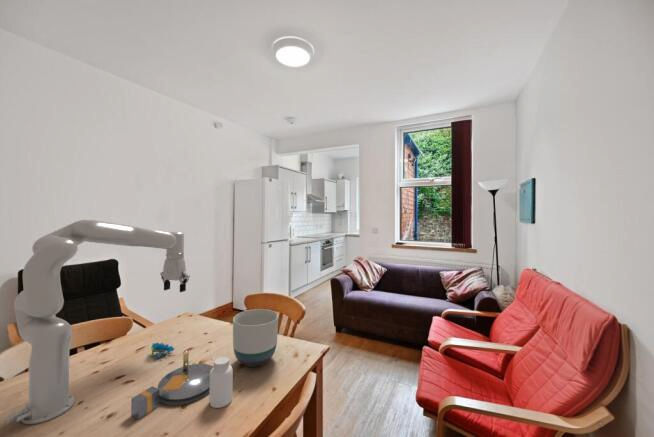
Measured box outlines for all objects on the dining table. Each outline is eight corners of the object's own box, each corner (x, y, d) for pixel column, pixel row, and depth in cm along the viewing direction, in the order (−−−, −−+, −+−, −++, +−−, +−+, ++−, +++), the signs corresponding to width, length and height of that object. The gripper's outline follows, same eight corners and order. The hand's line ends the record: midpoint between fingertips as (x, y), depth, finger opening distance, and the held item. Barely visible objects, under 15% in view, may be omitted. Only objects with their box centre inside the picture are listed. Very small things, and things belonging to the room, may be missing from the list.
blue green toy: (179, 348, 130) (166, 341, 123) (173, 361, 126) (159, 354, 119) (160, 349, 132) (146, 341, 125) (154, 361, 128) (139, 354, 121)
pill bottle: (225, 390, 102) (225, 352, 102) (236, 400, 97) (237, 360, 97) (205, 401, 96) (205, 361, 96) (216, 412, 91) (216, 369, 90)
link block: (138, 419, 87) (139, 401, 87) (131, 416, 88) (131, 398, 88) (159, 406, 93) (159, 389, 93) (151, 402, 95) (152, 386, 95)
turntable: (183, 408, 90) (184, 382, 90) (144, 391, 99) (145, 367, 99) (228, 374, 110) (228, 353, 110) (192, 362, 118) (193, 343, 118)
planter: (285, 356, 127) (286, 313, 127) (258, 380, 109) (259, 329, 108) (252, 347, 136) (253, 306, 135) (222, 367, 117) (223, 320, 117)
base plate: (183, 413, 90) (183, 410, 90) (142, 395, 98) (142, 392, 98) (230, 377, 110) (230, 375, 110) (192, 365, 119) (192, 363, 119)
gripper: (154, 256, 129) (154, 291, 129) (183, 258, 124) (182, 294, 124) (167, 254, 136) (167, 287, 136) (195, 256, 131) (194, 290, 132)
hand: (174, 290), depth 130 cm, fingers open, 9 cm apart
